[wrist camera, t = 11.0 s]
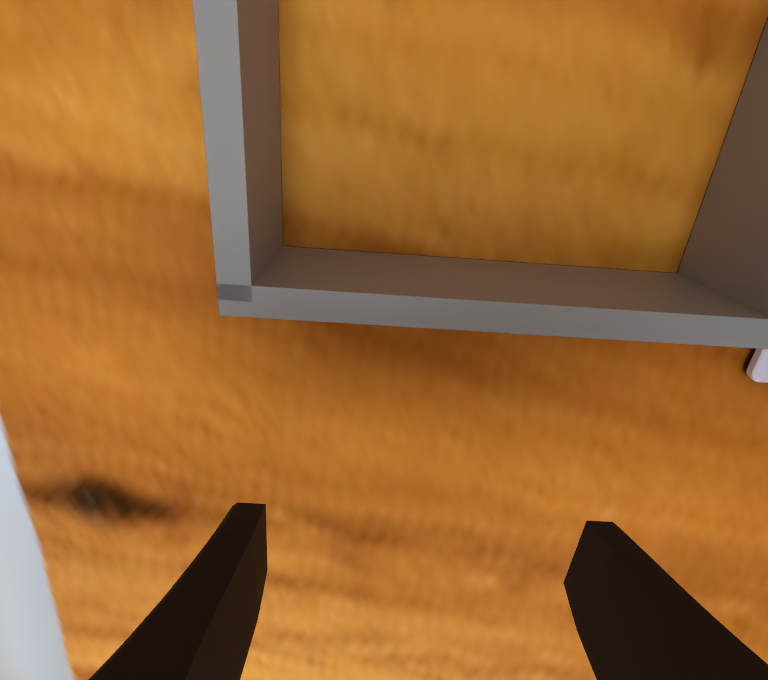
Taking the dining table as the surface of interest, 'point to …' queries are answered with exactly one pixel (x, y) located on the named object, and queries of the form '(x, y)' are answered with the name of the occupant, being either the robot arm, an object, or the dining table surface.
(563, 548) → the dining table surface
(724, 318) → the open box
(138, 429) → the dining table surface
